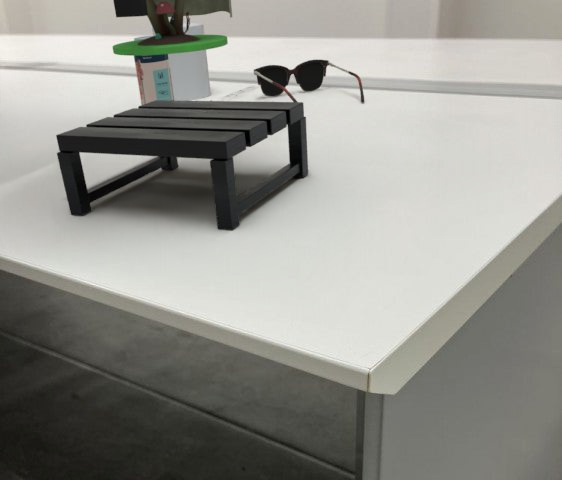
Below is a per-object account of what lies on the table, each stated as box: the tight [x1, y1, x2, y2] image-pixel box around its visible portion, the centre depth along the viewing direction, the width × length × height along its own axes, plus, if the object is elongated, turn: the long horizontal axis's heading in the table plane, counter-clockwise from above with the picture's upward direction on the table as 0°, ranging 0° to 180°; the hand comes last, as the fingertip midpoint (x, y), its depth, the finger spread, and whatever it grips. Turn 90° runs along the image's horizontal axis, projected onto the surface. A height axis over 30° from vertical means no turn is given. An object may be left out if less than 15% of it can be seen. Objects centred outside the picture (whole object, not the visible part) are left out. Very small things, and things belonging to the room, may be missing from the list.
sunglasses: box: [253, 59, 365, 104], centre depth 110 cm, size 14×16×5 cm
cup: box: [151, 22, 213, 101], centre depth 111 cm, size 8×8×12 cm
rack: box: [55, 100, 309, 231], centre depth 69 cm, size 18×18×8 cm
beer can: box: [133, 35, 174, 105], centre depth 97 cm, size 5×5×12 cm
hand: (171, 10), depth 62 cm, fingers closed on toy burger, 12 cm apart
